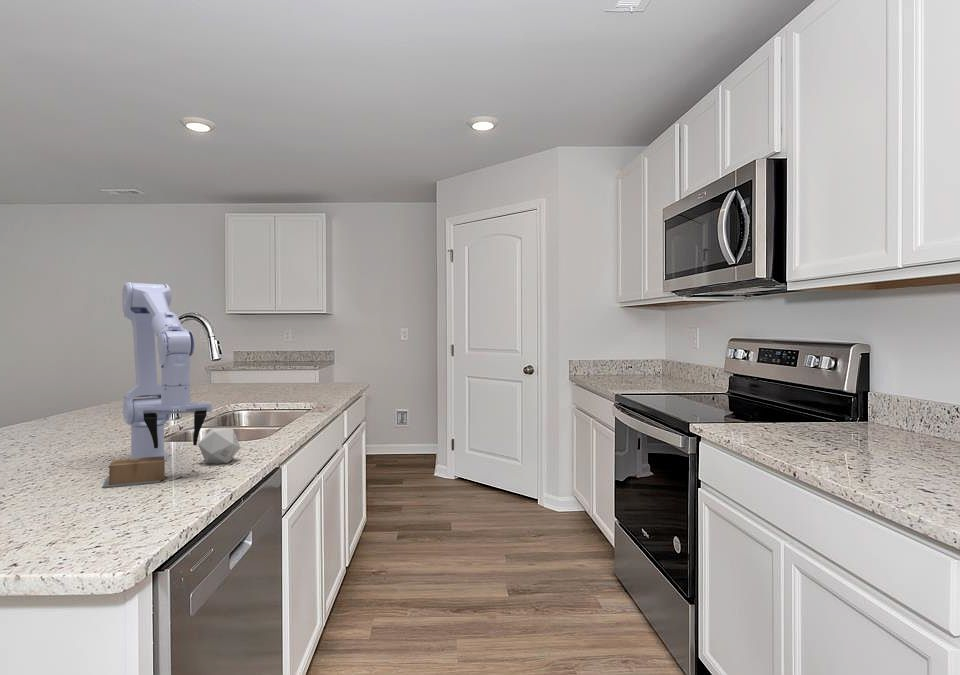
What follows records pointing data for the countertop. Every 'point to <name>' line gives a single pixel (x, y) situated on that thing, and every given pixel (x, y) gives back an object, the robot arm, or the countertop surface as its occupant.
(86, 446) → the countertop surface
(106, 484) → the mat
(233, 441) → the die
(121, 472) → the walnut block
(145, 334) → the robot arm
